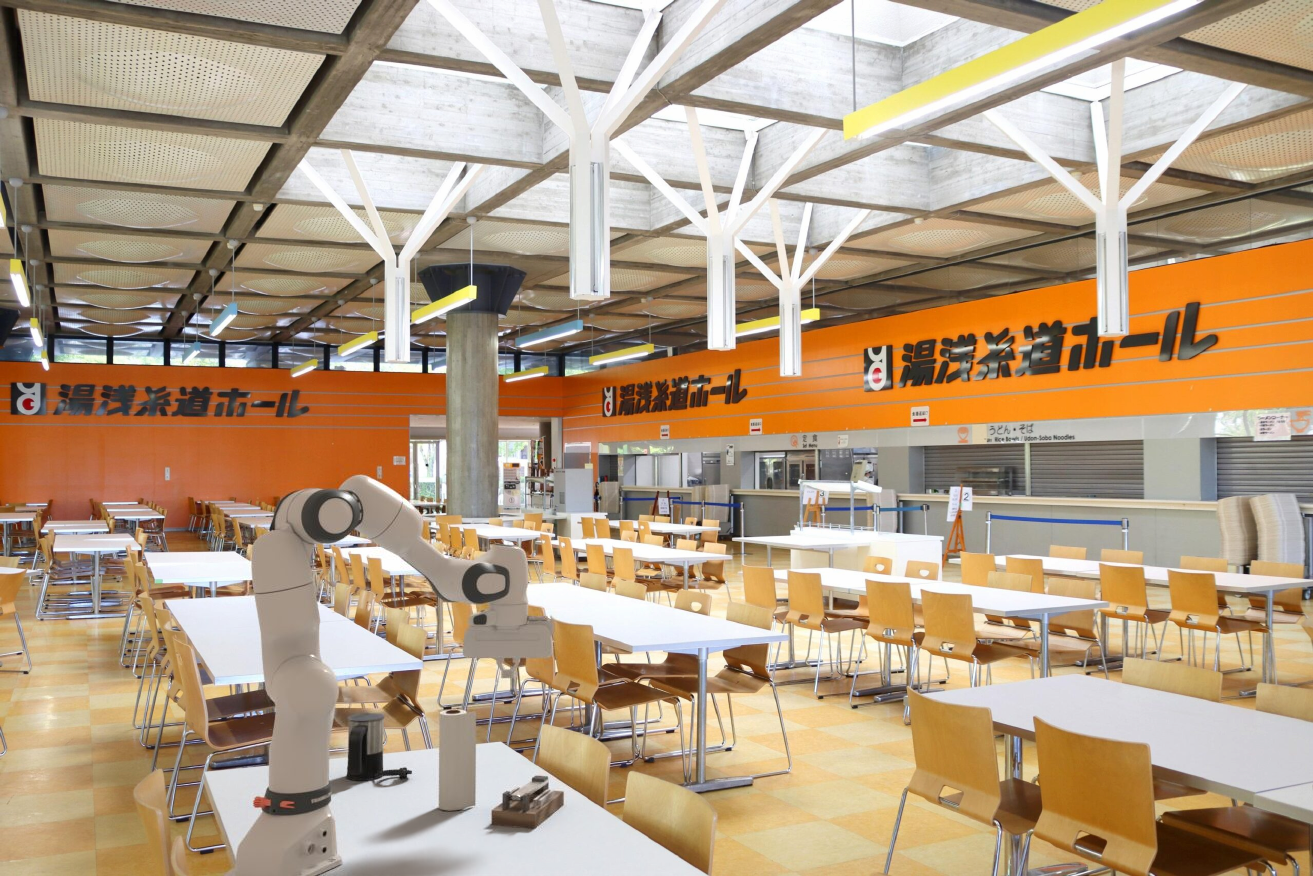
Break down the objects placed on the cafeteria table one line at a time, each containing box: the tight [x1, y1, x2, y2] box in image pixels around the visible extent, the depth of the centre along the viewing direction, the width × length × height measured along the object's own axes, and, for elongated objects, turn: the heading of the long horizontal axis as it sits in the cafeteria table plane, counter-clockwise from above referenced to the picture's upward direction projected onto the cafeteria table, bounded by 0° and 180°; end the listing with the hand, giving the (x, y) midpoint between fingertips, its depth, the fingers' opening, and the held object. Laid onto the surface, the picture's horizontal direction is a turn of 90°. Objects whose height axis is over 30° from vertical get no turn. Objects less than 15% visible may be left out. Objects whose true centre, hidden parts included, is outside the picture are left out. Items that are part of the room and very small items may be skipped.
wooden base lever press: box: [490, 781, 565, 829], centre depth 224 cm, size 17×10×6 cm, turn 164°
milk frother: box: [345, 712, 413, 781], centre depth 254 cm, size 14×16×15 cm
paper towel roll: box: [438, 709, 477, 812], centre depth 229 cm, size 7×6×21 cm
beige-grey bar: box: [508, 775, 550, 802], centre depth 224 cm, size 16×3×2 cm, turn 164°
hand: (508, 678), depth 229 cm, fingers closed
